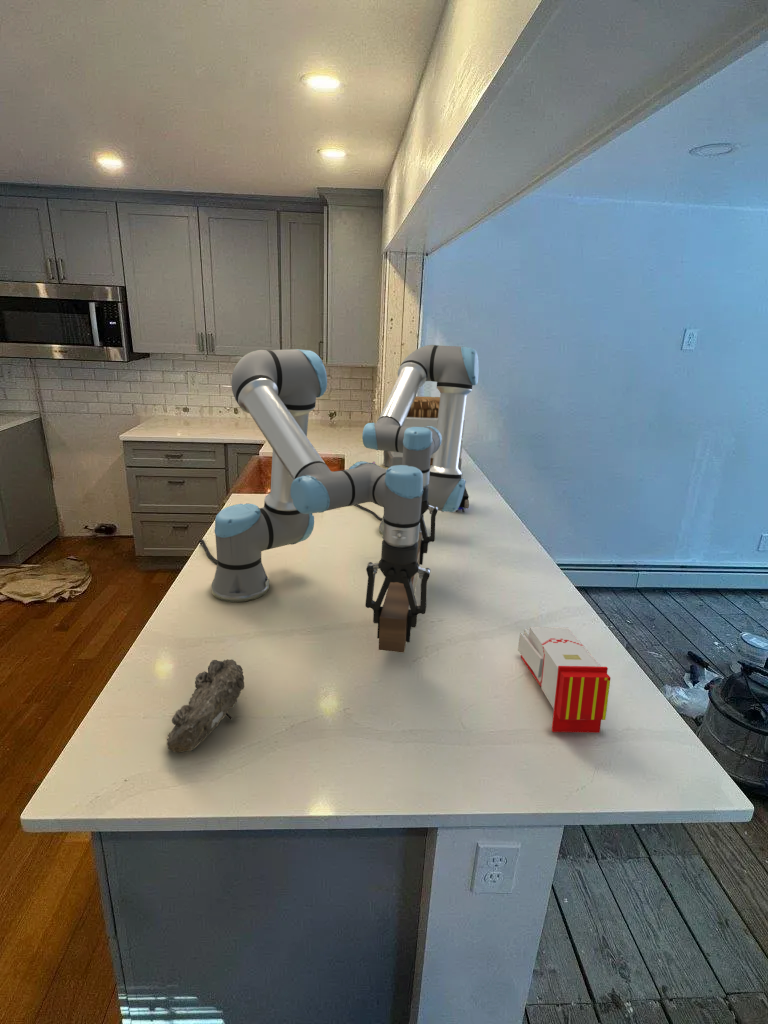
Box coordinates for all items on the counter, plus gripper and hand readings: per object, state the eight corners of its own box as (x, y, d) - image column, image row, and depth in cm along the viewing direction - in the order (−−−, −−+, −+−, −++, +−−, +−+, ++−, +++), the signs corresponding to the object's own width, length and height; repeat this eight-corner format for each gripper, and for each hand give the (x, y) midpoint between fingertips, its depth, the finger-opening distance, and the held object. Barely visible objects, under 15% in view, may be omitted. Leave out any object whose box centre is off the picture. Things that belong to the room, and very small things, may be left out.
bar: (402, 555, 168) (403, 530, 165) (421, 557, 167) (422, 532, 164) (378, 650, 121) (379, 617, 118) (404, 653, 121) (406, 619, 118)
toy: (564, 611, 133) (619, 673, 103) (558, 664, 135) (611, 739, 106) (512, 610, 132) (554, 672, 103) (508, 663, 135) (547, 738, 106)
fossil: (192, 660, 117) (244, 628, 112) (224, 691, 120) (276, 661, 115) (142, 746, 98) (202, 712, 93) (182, 779, 101) (242, 748, 96)
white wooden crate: (382, 463, 289) (386, 382, 275) (445, 464, 293) (451, 384, 279) (390, 482, 257) (394, 392, 243) (460, 483, 261) (468, 394, 247)
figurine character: (469, 517, 223) (463, 501, 236) (471, 500, 219) (465, 484, 233) (452, 516, 222) (447, 500, 236) (454, 499, 219) (449, 483, 232)
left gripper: (352, 543, 115) (349, 641, 123) (445, 552, 113) (435, 651, 121) (358, 529, 122) (355, 623, 130) (446, 538, 120) (436, 632, 128)
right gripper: (379, 486, 152) (376, 564, 160) (449, 491, 150) (442, 570, 158) (382, 478, 159) (379, 553, 167) (449, 483, 157) (443, 559, 165)
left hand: (393, 636), depth 125 cm, fingers closed on bar, 6 cm apart
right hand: (410, 561), depth 163 cm, fingers closed on bar, 6 cm apart
